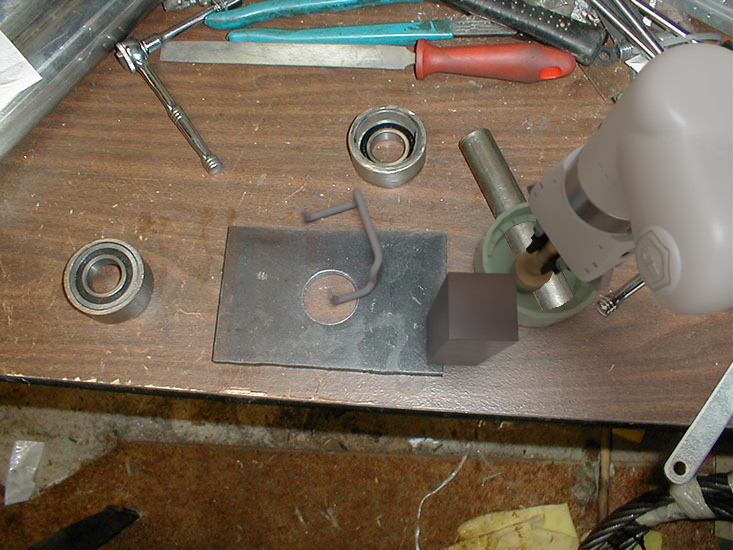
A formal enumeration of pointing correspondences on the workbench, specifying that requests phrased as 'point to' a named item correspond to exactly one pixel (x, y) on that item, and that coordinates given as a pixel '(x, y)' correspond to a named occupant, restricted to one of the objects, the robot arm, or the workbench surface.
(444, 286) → the brown block
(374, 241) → the bracket
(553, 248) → the muddler
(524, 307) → the bowl
